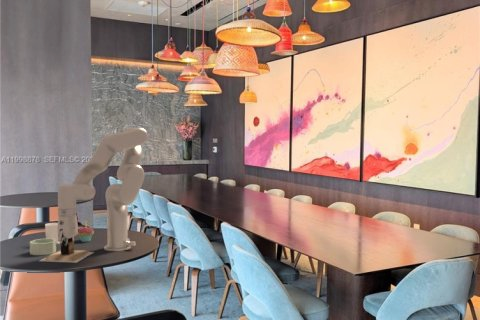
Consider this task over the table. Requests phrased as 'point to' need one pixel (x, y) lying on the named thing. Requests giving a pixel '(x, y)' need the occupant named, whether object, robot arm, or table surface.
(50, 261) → the mat
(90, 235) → the cupcake
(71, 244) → the lid
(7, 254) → the table surface
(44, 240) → the bowl
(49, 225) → the white cup
